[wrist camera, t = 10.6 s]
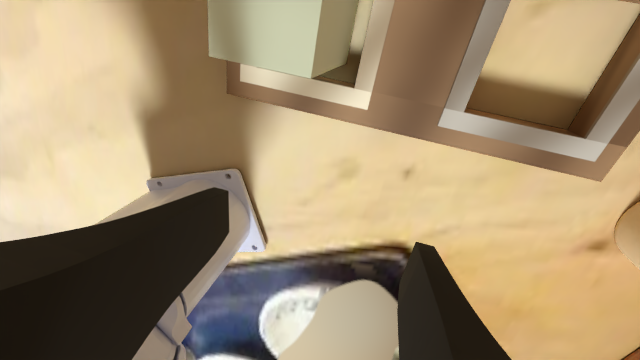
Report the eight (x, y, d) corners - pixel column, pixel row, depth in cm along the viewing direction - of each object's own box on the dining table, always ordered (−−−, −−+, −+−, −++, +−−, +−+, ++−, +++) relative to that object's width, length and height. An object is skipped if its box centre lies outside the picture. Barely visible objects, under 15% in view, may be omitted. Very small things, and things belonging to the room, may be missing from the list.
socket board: (238, 89, 19) (225, 93, 18) (243, -107, 14) (225, -124, 13) (584, 170, 16) (603, 183, 15) (735, -45, 11) (787, -58, 10)
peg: (284, 50, 17) (208, 56, 10) (291, -28, 15) (205, -86, 8) (346, 63, 17) (310, 78, 10) (361, -16, 15) (331, -68, 8)
